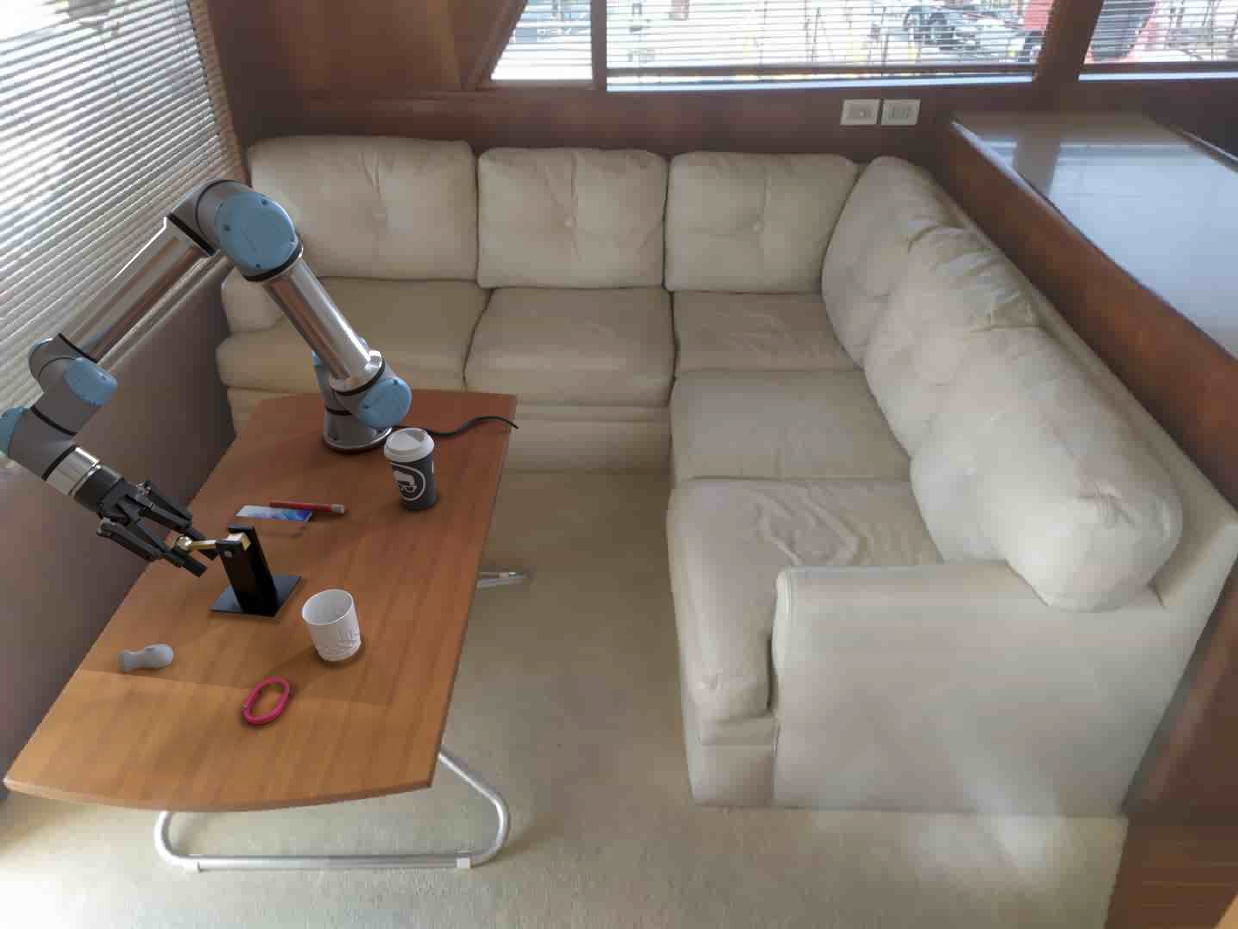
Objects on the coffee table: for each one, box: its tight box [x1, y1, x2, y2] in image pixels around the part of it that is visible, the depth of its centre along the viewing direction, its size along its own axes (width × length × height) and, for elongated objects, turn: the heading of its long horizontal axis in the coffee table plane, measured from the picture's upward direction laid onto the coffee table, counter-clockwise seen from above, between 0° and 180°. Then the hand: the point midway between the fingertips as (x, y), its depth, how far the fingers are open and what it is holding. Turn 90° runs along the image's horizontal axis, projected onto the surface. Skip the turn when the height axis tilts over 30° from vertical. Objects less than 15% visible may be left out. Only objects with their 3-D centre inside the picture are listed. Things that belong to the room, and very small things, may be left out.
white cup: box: [301, 588, 362, 662], centre depth 138 cm, size 8×8×10 cm
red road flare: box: [269, 499, 345, 514], centre depth 171 cm, size 2×15×2 cm, turn 82°
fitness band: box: [242, 677, 292, 725], centre depth 132 cm, size 8×6×2 cm
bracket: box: [209, 523, 302, 618], centre depth 147 cm, size 12×10×15 cm
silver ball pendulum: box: [170, 533, 250, 556], centre depth 145 cm, size 14×4×4 cm, turn 80°
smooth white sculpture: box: [118, 643, 175, 674], centre depth 138 cm, size 4×8×5 cm
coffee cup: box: [383, 428, 437, 511], centre depth 169 cm, size 10×10×15 cm
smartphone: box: [234, 504, 313, 523], centre depth 168 cm, size 7×1×15 cm
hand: (210, 564), depth 148 cm, fingers closed on silver ball pendulum, 4 cm apart
